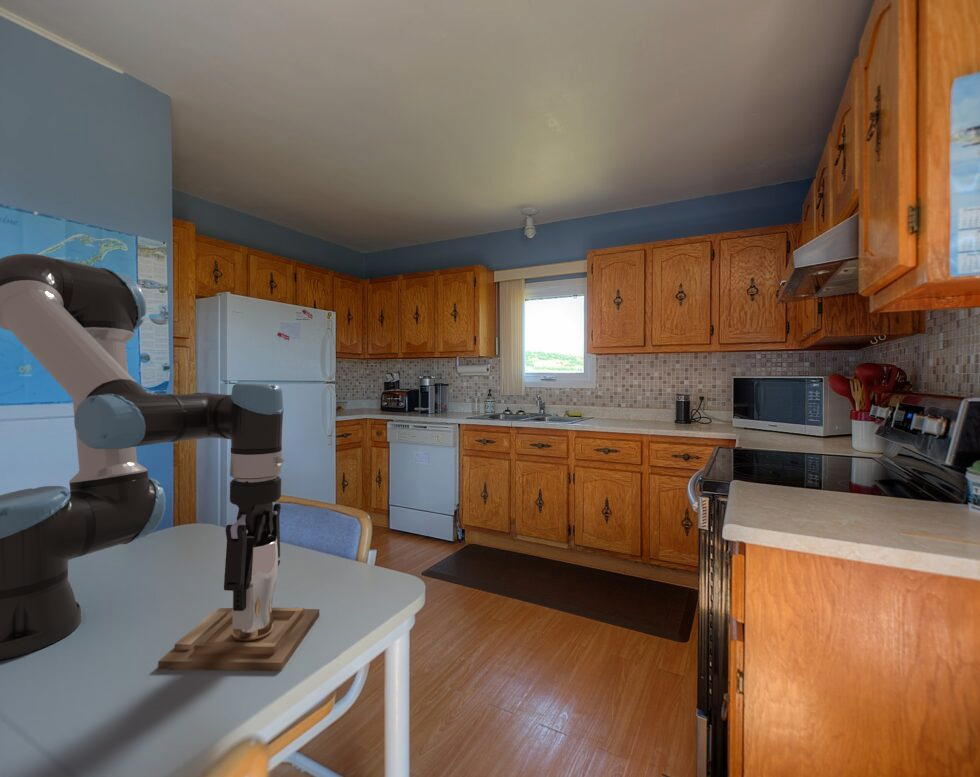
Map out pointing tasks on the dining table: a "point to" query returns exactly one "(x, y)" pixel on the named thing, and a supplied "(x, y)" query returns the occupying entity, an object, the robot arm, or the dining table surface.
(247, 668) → the tray
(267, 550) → the beer glass
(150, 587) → the dining table surface
